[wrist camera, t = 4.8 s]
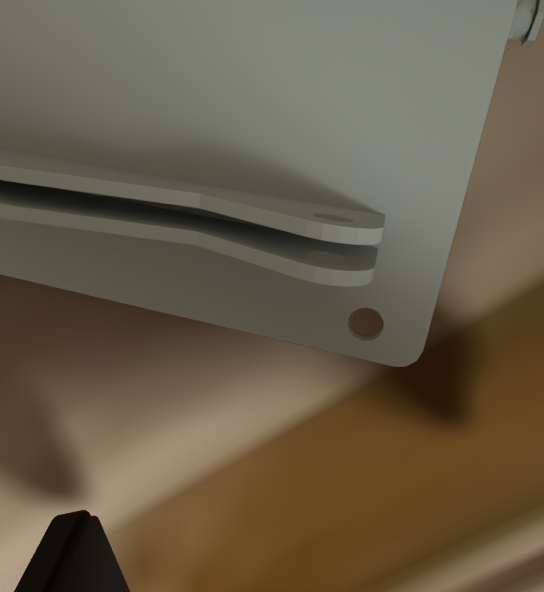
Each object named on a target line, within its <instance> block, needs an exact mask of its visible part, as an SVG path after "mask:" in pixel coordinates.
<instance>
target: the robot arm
mask: <svg viewBox="0 0 544 592" xmlns="http://www.w3.org/2000/svg"><path fill="white" fill-rule="evenodd" d="M14 592H130V590H129V588H128V586H127V583H126V581H125V579H124V576H123V574H122V572H121V569H120V567H119V565H118V562H117V560H116V558H115V555H114V553H113V551H112V548H111V546H110V544H109V541H108V539H107V537H106V534H105V532H104V530H103V527H102V525H101V523H100V520H99V519H98V517H97V516H91V515H90V513H89V512H88V511H86V510H81V511H76V512H71V513H66V514H61V515H57V516H56V517H54V519H53V520H52V521H51V523H50V525H49V527H48V529H47V531H46V532H45V534H44V536H43V538H42V540H41V542H40V544H39V546H38V547H37V549H36V551H35V553H34V555H33V557H32V559H31V561H30V563H29V564H28V566H27V568H26V570H25V572H24V574H23V576H22V578H21V579H20V581H19V583H18V585H17V587H16V589H15V591H14Z"/></svg>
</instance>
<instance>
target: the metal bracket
mask: <svg viewBox="0 0 544 592" xmlns="http://www.w3.org/2000/svg"><path fill="white" fill-rule="evenodd" d="M543 19H544V0H0V275H5V276H9V277H13V278H17V279H22V280H26V281H30V282H34V283H39V284H43V285H47V286H51V287H56V288H60V289H64V290H68V291H73V292H77V293H81V294H86V295H90V296H94V297H98V298H103V299H107V300H111V301H115V302H120V303H124V304H128V305H132V306H137V307H141V308H145V309H150V310H154V311H158V312H162V313H167V314H171V315H175V316H179V317H184V318H188V319H192V320H196V321H201V322H205V323H209V324H214V325H218V326H222V327H226V328H231V329H235V330H239V331H243V332H248V333H252V334H256V335H260V336H265V337H269V338H273V339H278V340H282V341H286V342H290V343H295V344H299V345H303V346H307V347H312V348H316V349H320V350H324V351H329V352H333V353H337V354H342V355H346V356H350V357H354V358H359V359H363V360H367V361H371V362H376V363H380V364H384V365H388V366H393V367H406V366H408V365H410V364H412V363H414V362H416V361H417V360H418V358H419V357H420V355H421V353H422V352H423V349H424V346H425V342H426V338H427V335H428V331H429V327H430V323H431V320H432V316H433V312H434V309H435V305H436V301H437V298H438V294H439V290H440V286H441V283H442V279H443V275H444V272H445V268H446V264H447V260H448V257H449V253H450V249H451V246H452V242H453V238H454V235H455V231H456V227H457V223H458V220H459V216H460V212H461V209H462V205H463V201H464V198H465V194H466V190H467V186H468V183H469V179H470V175H471V172H472V168H473V164H474V161H475V157H476V153H477V149H478V146H479V142H480V138H481V135H482V131H483V127H484V124H485V120H486V116H487V112H488V109H489V105H490V101H491V98H492V94H493V90H494V87H495V83H496V79H497V75H498V72H499V68H500V64H501V61H502V57H503V53H504V49H505V46H506V44H507V43H508V42H509V41H510V40H516V41H522V44H521V46H527V47H528V46H529V45H531V44H532V43H533V42H534V41H535V40H536V37H537V34H538V32H539V29H540V27H541V24H542V21H543ZM359 308H371V309H373V310H375V311H377V312H378V313H379V314H380V316H381V317H382V319H383V327H382V328H381V330H380V332H379V333H377V334H375V335H373V336H366V337H363V336H360V335H358V334H356V333H355V332H354V331H353V330H352V328H351V327H350V325H349V317H350V316H351V314H352V313H353V312H354V311H356V310H358V309H359Z"/></svg>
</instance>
